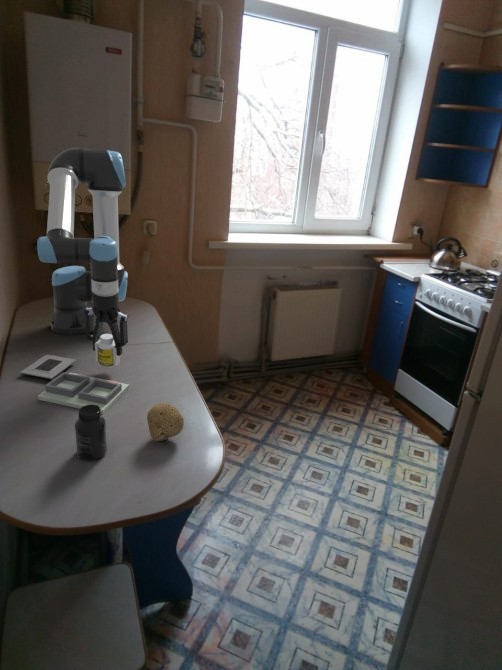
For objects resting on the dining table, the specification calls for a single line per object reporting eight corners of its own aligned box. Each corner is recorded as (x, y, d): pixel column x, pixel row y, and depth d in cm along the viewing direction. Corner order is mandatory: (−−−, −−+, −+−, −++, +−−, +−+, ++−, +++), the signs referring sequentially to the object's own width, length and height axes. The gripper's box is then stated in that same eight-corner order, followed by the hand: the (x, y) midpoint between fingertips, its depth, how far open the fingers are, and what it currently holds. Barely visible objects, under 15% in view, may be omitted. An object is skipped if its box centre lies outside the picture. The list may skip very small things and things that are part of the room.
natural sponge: (183, 428, 120) (184, 396, 116) (183, 449, 112) (184, 415, 108) (148, 428, 119) (148, 395, 115) (145, 449, 111) (145, 415, 107)
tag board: (69, 375, 140) (69, 366, 139) (129, 388, 136) (129, 378, 135) (38, 399, 126) (37, 389, 125) (103, 413, 123) (102, 403, 122)
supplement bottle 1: (112, 453, 108) (111, 410, 104) (86, 465, 103) (83, 421, 99) (97, 440, 112) (95, 398, 108) (71, 451, 107) (67, 408, 103)
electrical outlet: (52, 384, 135) (51, 377, 135) (20, 378, 137) (19, 371, 136) (76, 365, 147) (75, 358, 146) (46, 360, 149) (46, 353, 148)
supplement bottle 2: (95, 365, 141) (94, 337, 137) (105, 358, 146) (104, 331, 142) (110, 369, 140) (109, 341, 136) (120, 362, 144) (119, 334, 140)
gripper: (69, 291, 131) (74, 361, 140) (128, 301, 128) (129, 373, 137) (84, 283, 138) (88, 351, 147) (140, 293, 134) (140, 362, 144)
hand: (108, 361), depth 142 cm, fingers closed on supplement bottle 2, 5 cm apart
